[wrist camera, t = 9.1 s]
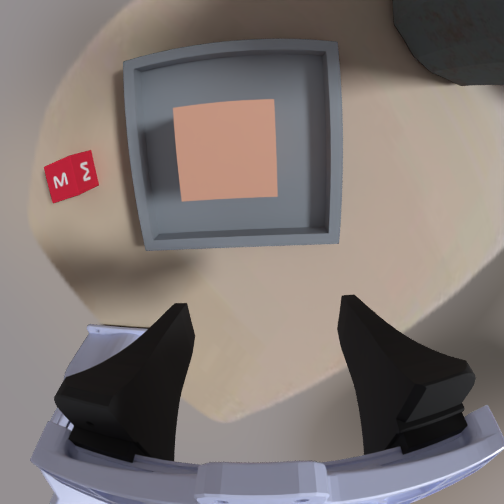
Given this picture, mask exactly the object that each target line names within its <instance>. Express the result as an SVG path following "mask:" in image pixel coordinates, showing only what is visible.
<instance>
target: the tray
mask: <svg viewBox="0 0 504 504" xmlns="http://www.w3.org/2000/svg"><path fill="white" fill-rule="evenodd" d="M123 77H124V100H125V115H126V127H127V137H128V147H129V155H130V163H131V171H132V178H133V185H134V191H135V197H136V203H137V209H138V215H139V220H140V225H141V230H142V235H143V240H144V245H145V249H146V251H154V250H178V249H203V248H229V247H256V246H285V245H314V244H339V237H340V222H341V204H342V175H343V123H342V95H341V78H340V64H339V53H338V43H337V42H334V41H324V40H309V39H251V40H236V41H225V42H216V43H208V44H200V45H194V46H188V47H182V48H177V49H172V50H167V51H162V52H158V53H153V54H149V55H145V56H141V57H138V58H134V59H130V60H127V61H124V62H123ZM260 99H274V106H275V129H276V156H277V191H278V197H254V198H232V199H213V200H198V201H184V202H182V199H181V191H180V182H179V173H178V164H177V153H176V143H175V131H174V117H173V108H176V107H182V106H189V105H197V104H206V103H215V102H226V101H240V100H260Z"/></svg>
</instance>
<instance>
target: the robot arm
mask: <svg viewBox="0 0 504 504" xmlns="http://www.w3.org/2000/svg"><path fill="white" fill-rule="evenodd" d="M87 330H88V332H89V335H88V336H87V337H86V339H85V340H84V342H83V344H82V345H81V347H80V348H79V350H78V351H77V353H76V354H75V356H74V358H73V360H72V361H71V362H70V364H69V366H68V368H67V370H66V372H65V376H64V381H63V383H62V384H61V386H60V388H59V390H58V392H57V393H56V395H55V397H54V401H55V403H56V405H57V409H56V410H55V412H54V414H53V416H52V418H51V420H50V421H48V422H47V424H46V427H45V428H44V431H43V433H42V435H41V437H40V439H39V441H38V443H37V446H36V448H35V450H34V452H33V455H32V457H31V459H30V461H31V462H32V463H33V464H35V465H36V466H37V467H38V468H39V469H40V471H41V472H42V474H43V475H44V477H45V479H46V480H47V482H48V483H49V485H50V487H51V488H52V490H53V491H54V494H53V496H52V498H51V501H50V503H49V504H410V503H412V502H415V501H417V500H420V499H422V498H424V497H427V496H429V495H431V494H433V493H435V492H438V491H440V490H442V489H444V488H446V487H448V486H450V485H452V484H454V483H456V482H458V481H460V480H462V479H463V478H465V477H467V476H469V475H471V474H472V473H474V472H476V471H477V470H479V469H480V468H482V467H483V466H484V465H485V464H487V463H488V462H489V461H490V460H492V459H493V458H494V457H495V456H496V455H498V454H499V453H500V452H501V451H502V450H503V449H504V437H503V435H502V433H501V430H500V428H499V426H498V424H497V422H496V420H495V418H494V416H493V414H492V412H491V410H490V408H489V406H488V405H485V406H483V407H481V408H479V409H477V410H475V411H473V412H471V413H469V414H468V415H467V416H465V417H464V416H463V414H462V412H463V411H464V406H463V404H462V402H463V400H464V399H465V397H466V396H467V395H468V393H469V392H470V390H471V389H472V387H473V385H474V382H475V374H474V373H473V371H472V369H471V368H470V366H469V365H468V363H467V362H466V361H465V360H461V359H458V358H454V357H450V356H447V355H445V354H442V353H439V352H437V351H434V350H432V349H430V348H427V347H425V346H423V345H421V344H419V343H417V342H416V341H414V340H412V339H410V338H409V337H407V336H405V335H404V334H402V333H401V332H399V331H398V330H396V329H395V328H393V327H392V326H391V325H389V324H388V323H387V322H386V321H384V320H383V319H382V318H381V317H379V316H378V315H377V314H376V313H375V312H373V311H372V310H371V309H370V308H369V307H368V306H367V305H365V304H364V303H363V302H362V301H361V300H360V299H359V298H358V297H356V296H355V295H344V296H342V298H341V306H340V314H339V321H338V328H337V330H338V335H339V340H340V345H341V348H342V351H343V354H344V357H345V360H346V363H347V366H348V369H349V372H350V374H351V377H352V380H353V383H354V387H355V390H356V395H357V401H358V406H359V412H360V419H361V426H362V435H363V445H364V455H362V456H358V457H353V458H348V459H342V460H336V461H329V462H316V461H312V460H309V461H286V462H262V463H261V462H260V463H242V462H241V463H240V462H209V463H206V464H202V465H199V464H189V463H181V462H174V449H175V434H176V424H177V416H178V408H179V402H180V396H181V392H182V388H183V384H184V381H185V378H186V374H187V371H188V367H189V364H190V360H191V357H192V353H193V347H194V339H195V334H194V330H193V326H192V322H191V318H190V314H189V310H188V306H187V303H175V304H174V305H173V306H171V307H170V308H169V309H168V310H167V311H166V312H165V313H164V314H163V315H162V316H161V317H160V318H159V319H158V320H157V321H156V322H155V323H154V324H153V325H152V326H151V327H150V328H149V329H141V328H127V327H115V326H104V325H94V324H89V325H88V326H87Z"/></svg>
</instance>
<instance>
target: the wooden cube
mask: <svg viewBox="0 0 504 504" xmlns="http://www.w3.org/2000/svg"><path fill="white" fill-rule="evenodd" d="M173 117H174V131H175V143H176V153H177V164H178V173H179V182H180V191H181V199H182V202H184V201H198V200H213V199H232V198H254V197H278V191H277V156H276V129H275V106H274V99H260V100H240V101H226V102H215V103H206V104H197V105H189V106H182V107H176V108H173Z"/></svg>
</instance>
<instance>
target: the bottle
mask: <svg viewBox="0 0 504 504" xmlns="http://www.w3.org/2000/svg"><path fill="white" fill-rule="evenodd" d="M393 14H394V25H395V26H396V28H397V29H398V31H399V33H400V34H401V36H402V37H403V39H404V40H405V42H406V44H407V45H408V47H409V49H410V51H411V52H412V54H413V56H414V57H415V58H416V59H417V60H418V61H419V62H421V63H422V64H423V65H424V66H425V67H426V68H427V69H428V70H429V71H430V72H432V73H434V74H437V75H439V76H441V77H443V78H446V79H448V80H450V81H452V82H454V83H456V84H458V85H460V86H468V85H504V0H393Z"/></svg>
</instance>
